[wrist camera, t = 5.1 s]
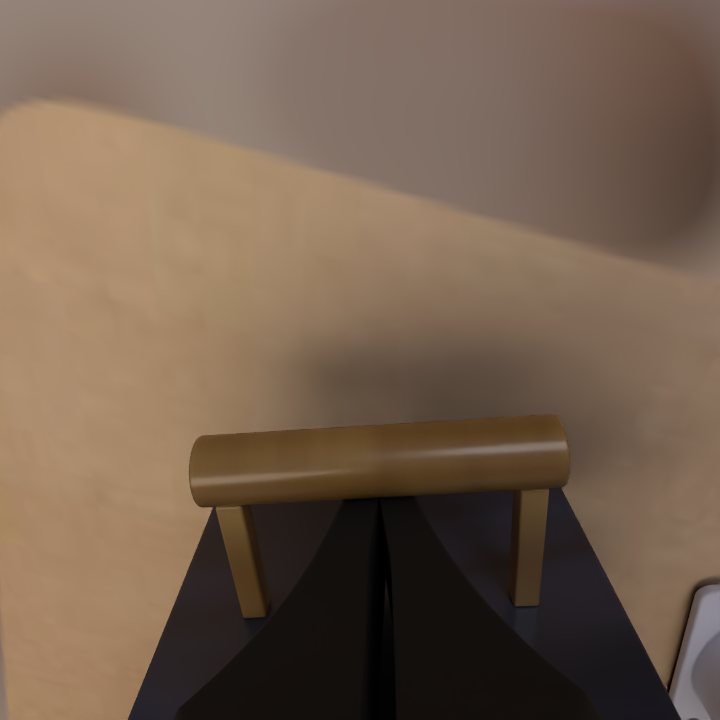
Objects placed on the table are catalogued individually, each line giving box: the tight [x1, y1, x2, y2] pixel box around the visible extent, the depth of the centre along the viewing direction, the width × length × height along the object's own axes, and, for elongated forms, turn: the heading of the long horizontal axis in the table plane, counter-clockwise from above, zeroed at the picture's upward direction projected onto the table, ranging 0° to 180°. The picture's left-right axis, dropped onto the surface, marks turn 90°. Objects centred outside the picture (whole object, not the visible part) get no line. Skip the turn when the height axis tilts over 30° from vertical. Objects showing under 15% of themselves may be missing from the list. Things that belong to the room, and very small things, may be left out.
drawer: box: [128, 414, 682, 720], centre depth 15 cm, size 17×11×7 cm, turn 4°
